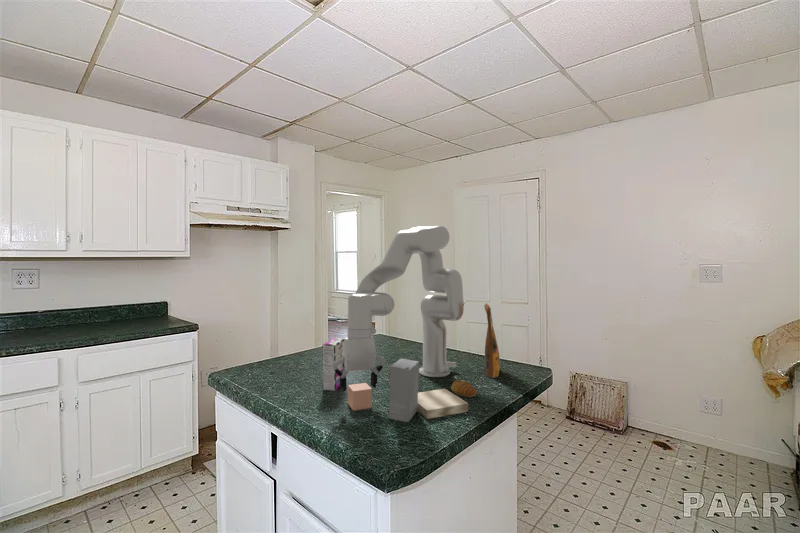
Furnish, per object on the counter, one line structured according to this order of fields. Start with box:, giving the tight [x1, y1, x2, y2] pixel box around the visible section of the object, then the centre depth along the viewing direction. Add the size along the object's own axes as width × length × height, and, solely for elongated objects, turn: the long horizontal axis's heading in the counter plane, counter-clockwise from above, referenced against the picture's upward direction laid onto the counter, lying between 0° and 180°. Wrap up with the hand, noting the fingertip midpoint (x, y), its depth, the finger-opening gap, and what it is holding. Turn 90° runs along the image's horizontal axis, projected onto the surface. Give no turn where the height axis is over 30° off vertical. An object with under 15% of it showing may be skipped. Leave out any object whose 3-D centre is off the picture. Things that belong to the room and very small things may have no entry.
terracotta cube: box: [347, 382, 373, 411], centre depth 117 cm, size 6×6×6 cm
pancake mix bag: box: [484, 302, 501, 379], centre depth 153 cm, size 7×19×28 cm, turn 164°
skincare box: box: [388, 358, 420, 423], centre depth 110 cm, size 8×7×16 cm
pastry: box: [450, 379, 478, 398], centre depth 129 cm, size 9×7×4 cm
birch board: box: [417, 388, 469, 420], centre depth 117 cm, size 14×14×2 cm
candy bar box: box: [322, 337, 347, 392], centre depth 135 cm, size 11×5×16 cm, turn 168°
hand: (358, 388), depth 117 cm, fingers open, 9 cm apart
